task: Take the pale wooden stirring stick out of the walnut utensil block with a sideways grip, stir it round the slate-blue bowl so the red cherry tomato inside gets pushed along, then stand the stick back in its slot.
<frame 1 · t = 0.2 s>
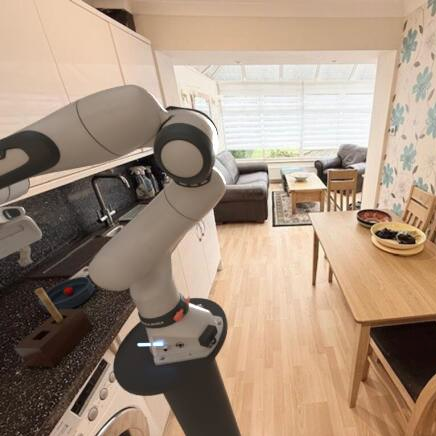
hand: (5, 277, 55), 31 cm above the countertop, tool pointing down, fingers open, 8 cm apart
chocolate bar: (92, 268, 111), on the countertop
bowl: (71, 299, 92), on the countertop
utensil block: (63, 345, 74), on the countertop
cherry tomato: (68, 291, 93), point 2 cm above the countertop, touching bowl
stirring stick: (71, 337, 76), resting in utensil block
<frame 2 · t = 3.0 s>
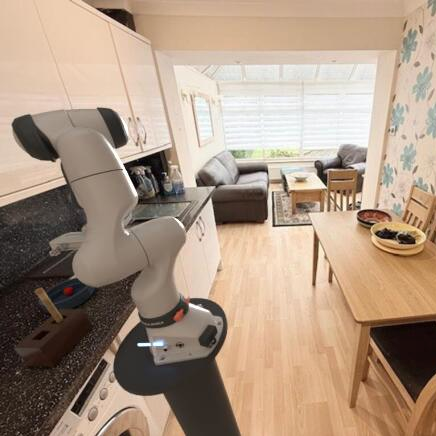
hand: (66, 253, 77), 24 cm above the countertop, tool horizontal, fingers open, 8 cm apart
nothing on the countertop moved.
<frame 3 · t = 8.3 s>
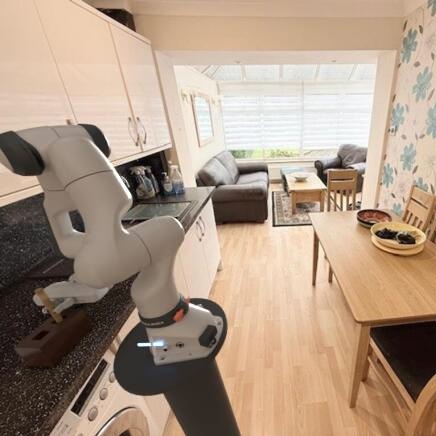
hand: (49, 312, 70), 12 cm above the countertop, tool horizontal, fingers closed on stirring stick, 1 cm apart
stirring stick: (71, 337, 76), resting in utensil block, touching gripper
everything else where it was.
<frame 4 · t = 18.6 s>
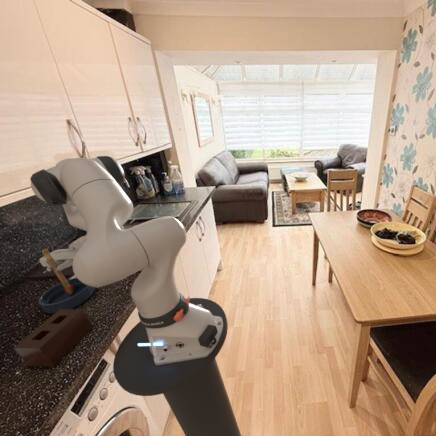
hand: (53, 269, 87), 14 cm above the countertop, tool horizontal, fingers closed on stirring stick, 1 cm apart
cherry tomato: (69, 289, 95), point 2 cm above the countertop, tilted 50°, touching bowl
stirring stick: (71, 292, 93), point 2 cm above the countertop, touching gripper
everything else where it was.
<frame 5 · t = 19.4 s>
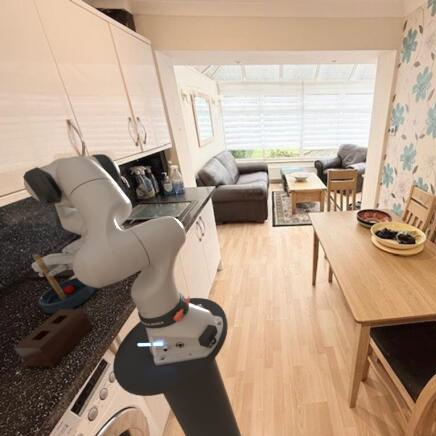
hand: (45, 275, 85), 14 cm above the countertop, tool horizontal, fingers closed on stirring stick, 1 cm apart
cherry tomato: (69, 289, 94), point 2 cm above the countertop, tilted 29°, touching bowl
stirring stick: (64, 298, 91), point 2 cm above the countertop, touching gripper
everything else where it was.
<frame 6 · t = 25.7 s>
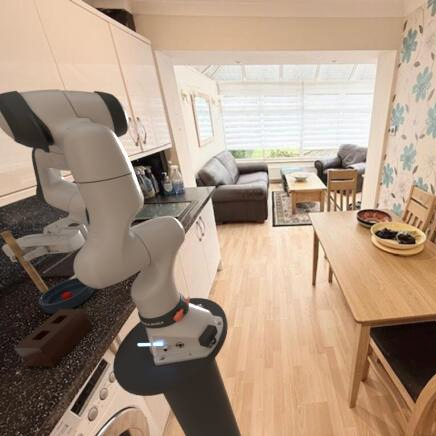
hand: (18, 259, 65), 30 cm above the countertop, tool horizontal, fingers closed on stirring stick
cherry tomato: (67, 296, 91), point 2 cm above the countertop, tilted 133°, touching bowl
stirring stick: (44, 290, 71), point 18 cm above the countertop, touching gripper
everything else where it was.
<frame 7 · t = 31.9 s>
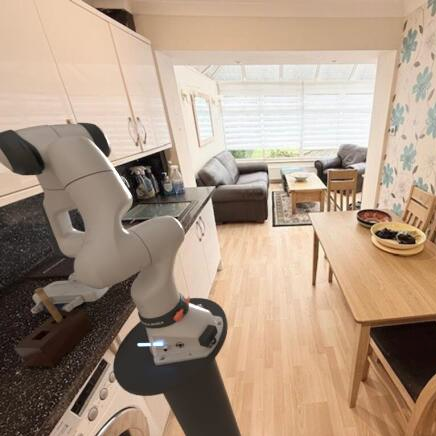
hand: (49, 311, 70), 12 cm above the countertop, tool horizontal, fingers open, 8 cm apart
cherry tomato: (65, 302, 88), point 2 cm above the countertop, tilted 77°, touching bowl
stirring stick: (71, 336, 77), resting in utensil block
everything else where it was.
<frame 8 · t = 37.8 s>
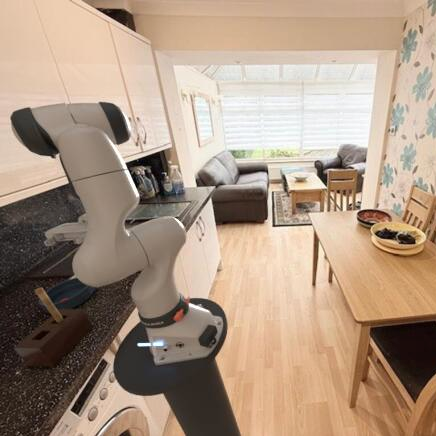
hand: (61, 243, 75), 28 cm above the countertop, tool horizontal, fingers open, 8 cm apart
nothing on the countertop moved.
at the end: cherry tomato moved 7.4 cm from its start; cherry tomato inside the target area in the bowl (4.4 cm from its centre), point 2.5 cm above the bowl's base; stirring stick 0.2 cm from the target spot in the utensil block, point 0.0 cm above the utensil block's base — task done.
